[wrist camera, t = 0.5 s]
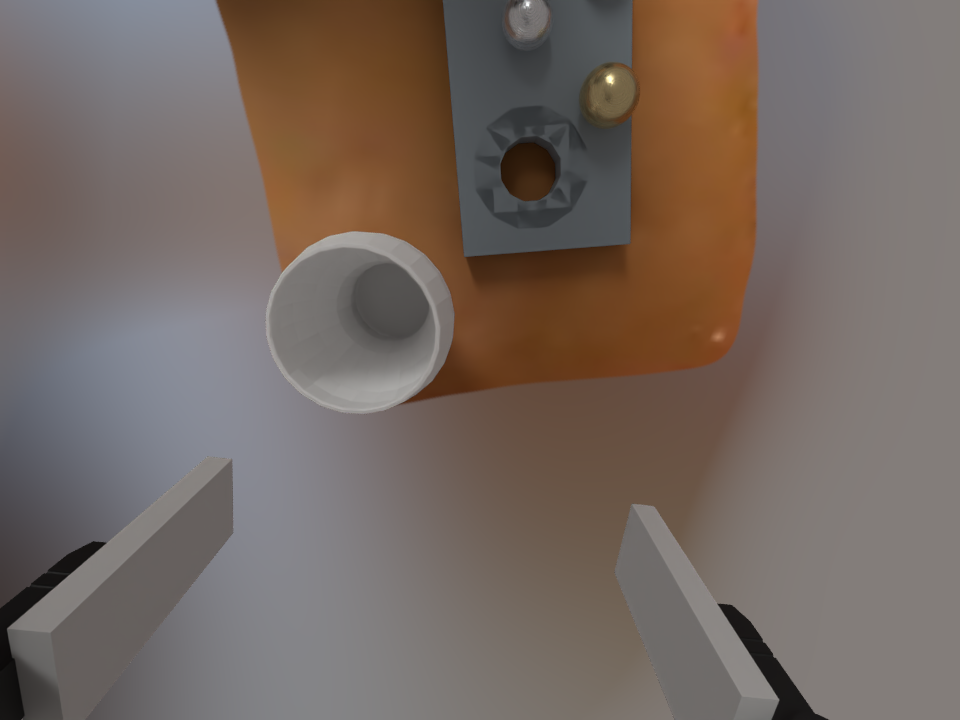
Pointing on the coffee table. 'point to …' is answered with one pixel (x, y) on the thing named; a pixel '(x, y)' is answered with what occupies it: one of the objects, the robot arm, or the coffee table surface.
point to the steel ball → (527, 23)
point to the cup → (360, 322)
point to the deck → (538, 127)
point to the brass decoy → (609, 95)
